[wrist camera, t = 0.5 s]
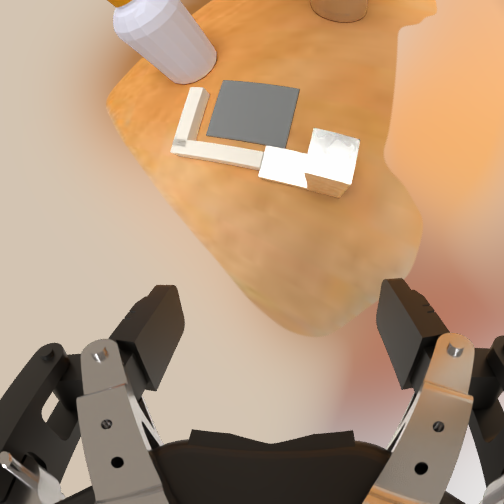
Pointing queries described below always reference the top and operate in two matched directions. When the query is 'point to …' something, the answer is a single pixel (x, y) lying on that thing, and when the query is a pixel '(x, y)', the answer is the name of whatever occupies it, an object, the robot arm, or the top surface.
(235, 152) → the corner piece
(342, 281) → the top surface
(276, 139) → the pad
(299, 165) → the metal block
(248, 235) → the top surface
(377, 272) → the top surface
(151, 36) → the soap bottle
